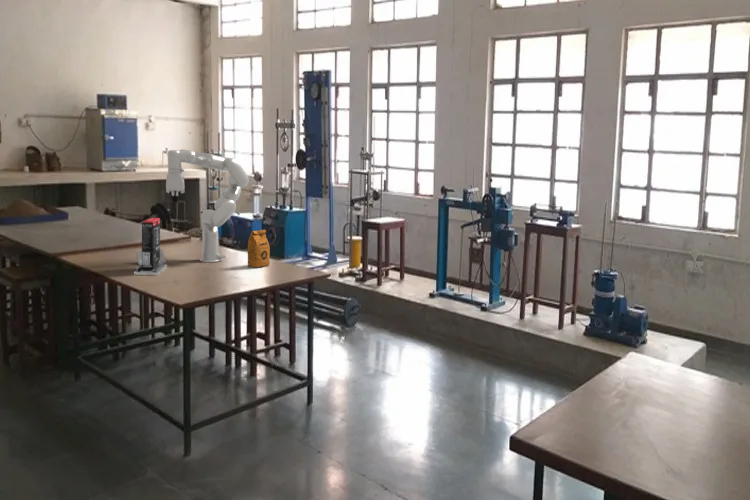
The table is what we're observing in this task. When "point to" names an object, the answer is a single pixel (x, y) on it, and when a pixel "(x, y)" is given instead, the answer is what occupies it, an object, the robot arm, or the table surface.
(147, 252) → the graphics card box
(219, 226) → the robot arm
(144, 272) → the rail mount
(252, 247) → the coffee package
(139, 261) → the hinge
